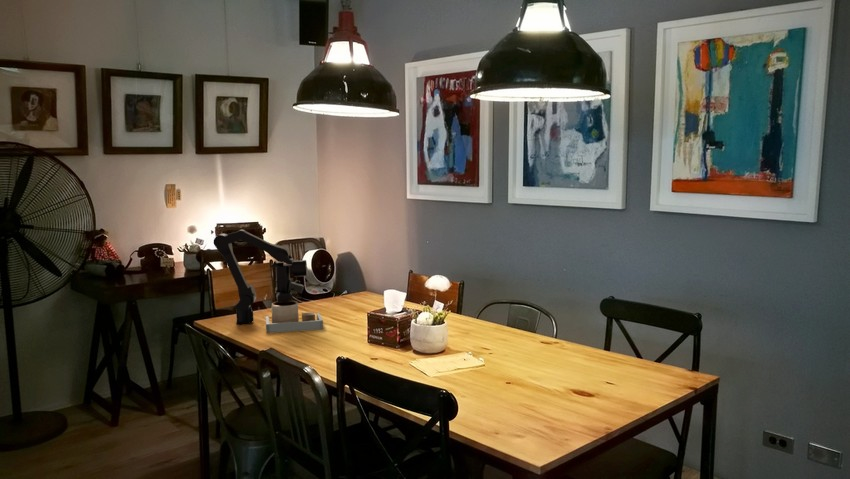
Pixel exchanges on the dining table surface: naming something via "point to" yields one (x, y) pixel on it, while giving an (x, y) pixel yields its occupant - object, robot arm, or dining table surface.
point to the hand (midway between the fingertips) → (284, 312)
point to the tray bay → (294, 325)
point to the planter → (285, 312)
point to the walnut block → (308, 316)
